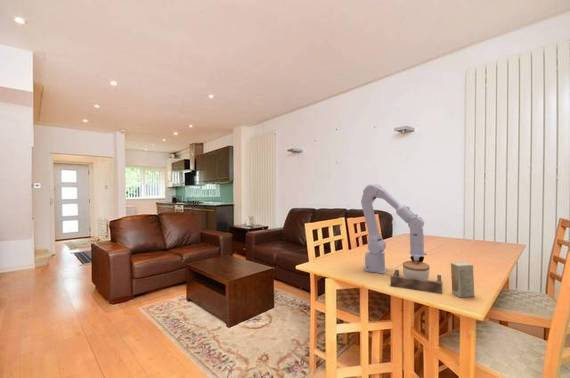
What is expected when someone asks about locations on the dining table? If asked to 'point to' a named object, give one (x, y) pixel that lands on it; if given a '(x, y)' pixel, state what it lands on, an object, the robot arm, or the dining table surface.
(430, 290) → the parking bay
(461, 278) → the skincare box
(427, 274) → the lidded jar
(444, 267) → the dining table surface
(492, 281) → the dining table surface
